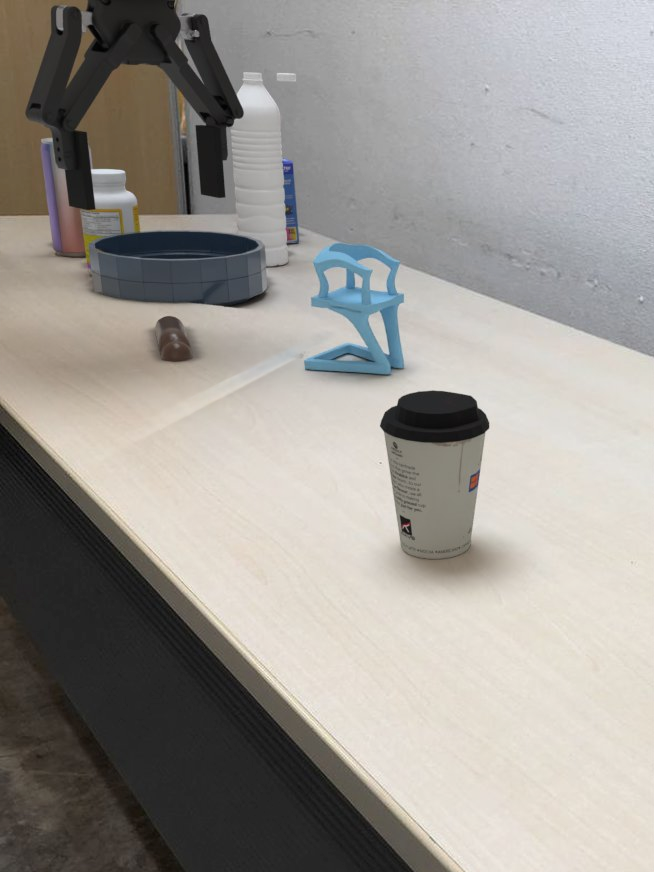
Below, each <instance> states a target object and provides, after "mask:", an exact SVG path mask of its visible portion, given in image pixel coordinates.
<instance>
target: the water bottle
mask: <svg viewBox="0 0 654 872" xmlns="http://www.w3.org/2000/svg"><path fill="white" fill-rule="evenodd" d="M242 74H243V75H242V77H243V78H241V81H242V85H241V87H240V88H239V90H238V91H237V93H236V95H237V97H238V99H239V102H240V104H241V106H242V108H243V111H244V115H243V117H242V118H241V119H235V120H234V124H233V126H232V127H230V135H231V137H230V140H231V148H232V149H231V154H232V166H233V168H232V172H233V175H232V176H233V184H234V188H233V189H234V191H233V192H234V199H235V212H236V227H237V232H236V234H238V235H243V236H249V237H252V238H255V239H257V240H260V241H262V242H263V244H264V245H265V255H266V268H268V267H277V266H284V265H286V264H287V263H289V248H288V247H289V246H288V245H287V244H286V243H287V232H286V229H285V228H286V216H285V203H284V200H285V192H284V188H283V185H284V175H283V169H282V167H283V163H282V161H283V158H284V157H283V145H282V142H283V139H282V137H281V136H282V131H281V130H282V118H281V117H282V116H281V112H280V108H279V106H278V104H277V103H276V101H275V100H274V98H273V97H272V96H271V94H270V93H269V91H268V90H267V88H266V87H265V85H264V79H263V74H262V72H249V71H244V72H243V73H242ZM276 81H278V82H289V83H290V82H291V83H292V82H293V83H294V82H295V83H296V82H297V74H296V73H292V72H291V73H289V72H277V73H276Z"/></svg>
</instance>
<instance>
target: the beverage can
mask: <svg viewBox="0 0 654 872" xmlns="http://www.w3.org/2000/svg"><path fill="white" fill-rule="evenodd" d="M40 142H41V144H40V157H41V163H42V164H41V165H42V172H43V179H44V180H43V181H44V188H45V195H46V204H47V211H48V218H49V227H50V234H51V241H52V242H51V243H52V248H53V251H54V252H55V254H56V255H58V256H60V257H66V258H86V252H85V244H84V236H83V228H82V221H81V213H80V208H75V207H71V206H69V200H68V192H67V184H66V176H65V169H60V168H58V166H57V164H56V162H55V155H54V147H53V139H52V137H45V138H41V139H40ZM88 148H89V157H90V165H91V169H94V167H93V166H94V165H93V157H92V149H91V147H90V145H89V144H88Z"/></svg>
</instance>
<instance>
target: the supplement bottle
mask: <svg viewBox="0 0 654 872" xmlns="http://www.w3.org/2000/svg"><path fill="white" fill-rule="evenodd" d="M91 174H92V183H93V192H94V200H95V210H84V209H80V213H81V221H82V228H83V236H84V244H85V252H86V257H85V259H86V267H87V271H88V274H89V275H91V276H92V274H91V265H90V257H89V247H88V244H89V243H90V242H92V241H94V240H96V239H98V238H102V237H106V236H110V235H115V234H123V233H130V232H141V225H140V214H139V206H138V199H137V197H136V196H135V194H134V193H133V192H131V191H130V190H127V188H126V183H127V174H126V171H125V170H123V169H115V168H113V169H112V168H93V169H91Z"/></svg>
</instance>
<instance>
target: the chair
mask: <svg viewBox="0 0 654 872" xmlns="http://www.w3.org/2000/svg"><path fill="white" fill-rule="evenodd" d="M365 259H374V260H376V261H378V262H380V263H381V264H383V265H385V267H388V268H389V269H390V271H389V274H388V276H387V279H386V290H387V291H380V290H373V289H371V277H372V273H373V270H374V269H371V268H369V267H366V266H365V265H363V264H362V263H361V262H359V261H361V260H365ZM401 262H402V261H401V260H398V259H396V258H393V257H392V256H390V255H388V254H387V253H386V252H385V251H383V250H380V249H378V248H376V247H374V246H370V245H366V244H349V243H344V242H334V243H332V244H330V245H327V246H326V247H324V248H323V249H322V250H321V251H320V252H319V253H318V254H317V255H316V256H315V257H314V259H313V260H312V263H313V266H314V269H315V273H316V275H317V278H318V281H319V291H318V295H313V296H310V300H311V301H310V304H311V307H314V308H321V309H328V310H329V311H332V312H335V313H336V314H339V315H341V316H342V317H344V318H346V319H347V320H348V322H350V323H351V324H352V325H353V327H354V328H355V329H356V331H357V332H358V334H359V336H360V337H361V339H362V340H363V342H364V345H366V346H363V345H360V344H356V343H352V342H351V343H350V342H345V343H343V344H340V345H338V346H335V347H332V348H330V349H328V350H325V351H323V352H320V353H317V354H315V355H312V356H310V357H308V358H305V359H303V364H304V369H305V370H310V371H311V370H313V371H328V372H343V373H344V372H346V373H364V374H375V375H391V374H392V368H393V369H404V368H405V361H404V354H403V349H402V343H401V336H400V329H399V319H398V309H399V306H400V305H401V304H404V303H405V293H401V292H398V291H397V288H396V278H397V277H396V276H397V274H398V270H399V267H400V264H401ZM332 268H333V269H334V268H341V269H342V268H343V269H345V274H346V280H345V286H343V287H340V288H338V289H335V290H334V291H330V285H329V281H328V279H327V276H326V274H325V271H327V270H329V269H332ZM355 275H357V276H359V277H360V278H361V279H362V282H361V287H360V286H356V277H355ZM376 313H380V316H381V318H382V321H383V325H384V326H383V327H384V330H385V335H386V341H387V347H388V348H387V349H388V353H385V352H384V351H383V349H382V347H381V345H380V344H379V342H378V340H377V338H376V336H375V334H374V331H373V329H372V327H371V325H370V322H369V317H370V316H371V315H374V314H376ZM345 354H350V355H351V354H352V355H355V356H357V357H360V358H363V359H366V360H368V361H359V360H340V359H335V358H338V357H340V356H344V355H345Z"/></svg>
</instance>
